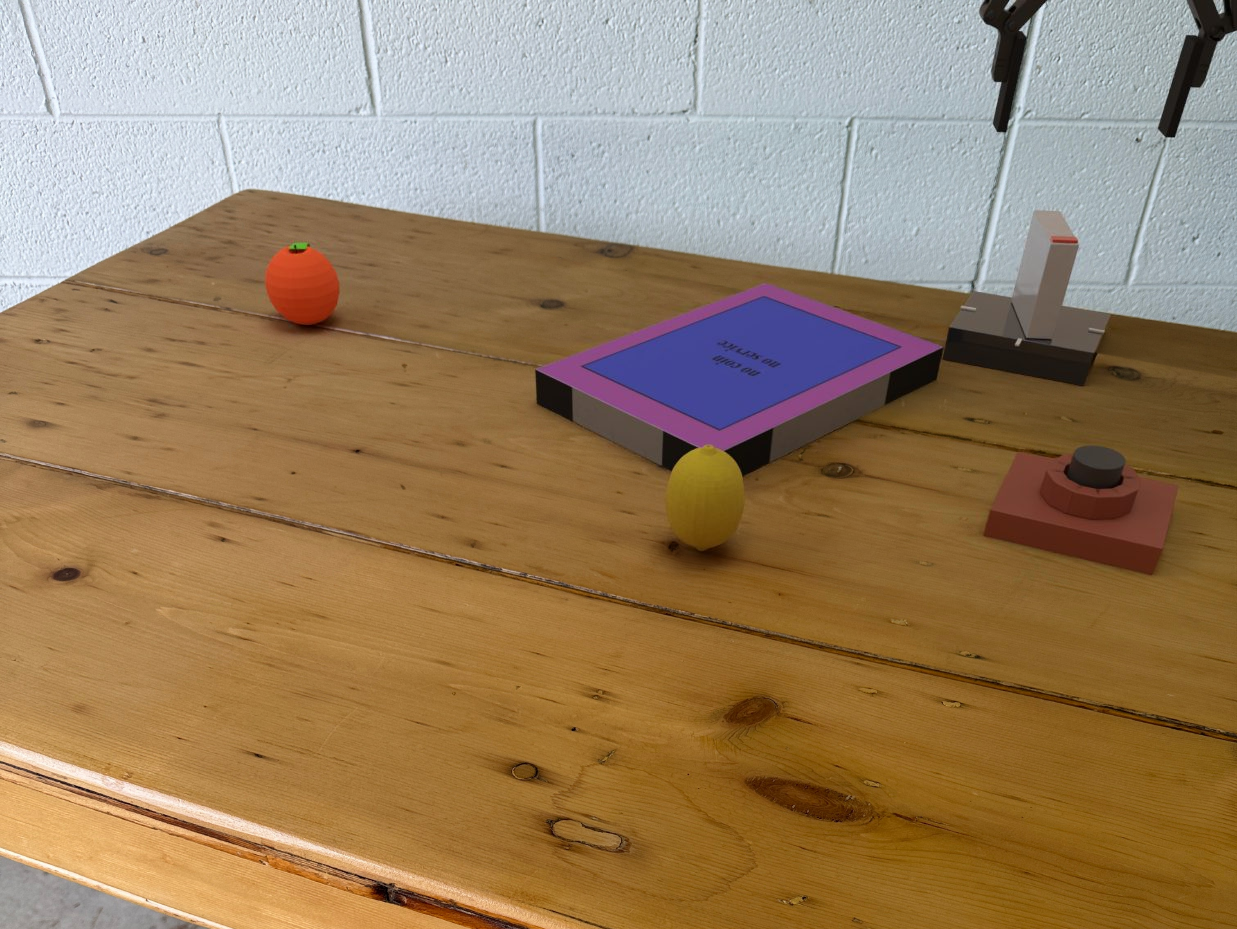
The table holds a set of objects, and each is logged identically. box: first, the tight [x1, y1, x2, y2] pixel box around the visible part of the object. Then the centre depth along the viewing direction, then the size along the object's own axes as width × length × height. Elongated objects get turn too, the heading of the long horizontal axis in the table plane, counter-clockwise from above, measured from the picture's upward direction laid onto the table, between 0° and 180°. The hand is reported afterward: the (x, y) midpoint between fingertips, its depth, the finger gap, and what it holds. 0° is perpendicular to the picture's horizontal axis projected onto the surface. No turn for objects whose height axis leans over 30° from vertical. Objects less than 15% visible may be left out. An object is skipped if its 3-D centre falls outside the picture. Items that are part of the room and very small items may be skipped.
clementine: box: [264, 242, 341, 326], centre depth 107 cm, size 8×7×7 cm
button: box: [1067, 445, 1127, 489], centre depth 80 cm, size 4×4×2 cm
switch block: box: [982, 451, 1180, 576], centre depth 82 cm, size 12×10×4 cm
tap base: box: [941, 290, 1112, 387], centre depth 104 cm, size 13×13×3 cm
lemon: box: [664, 445, 746, 552], centre depth 78 cm, size 6×6×8 cm
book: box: [534, 282, 945, 477], centre depth 98 cm, size 21×3×30 cm
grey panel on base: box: [1011, 209, 1080, 339], centre depth 100 cm, size 9×2×8 cm, turn 174°
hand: (1082, 131), depth 92 cm, fingers open, 13 cm apart
